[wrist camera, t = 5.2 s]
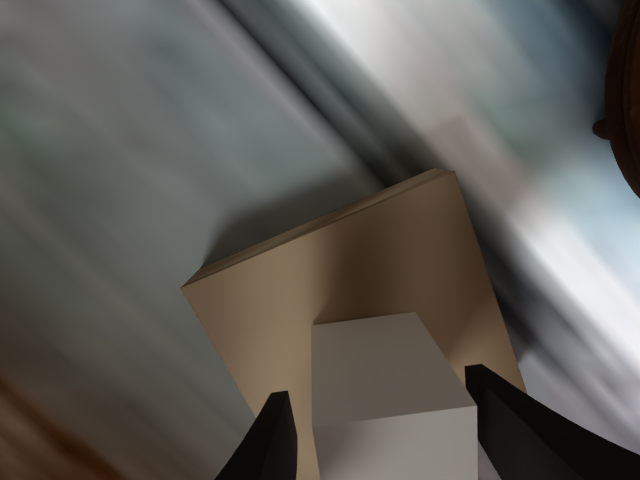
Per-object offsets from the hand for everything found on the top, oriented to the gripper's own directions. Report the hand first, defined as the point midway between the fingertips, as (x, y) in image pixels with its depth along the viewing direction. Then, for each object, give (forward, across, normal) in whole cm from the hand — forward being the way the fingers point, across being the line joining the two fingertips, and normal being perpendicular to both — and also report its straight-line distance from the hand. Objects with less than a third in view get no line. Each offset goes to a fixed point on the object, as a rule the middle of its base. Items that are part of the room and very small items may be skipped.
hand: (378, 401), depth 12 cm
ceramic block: (+3, 0, 0) cm, 3 cm away
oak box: (+6, 0, 0) cm, 6 cm away
